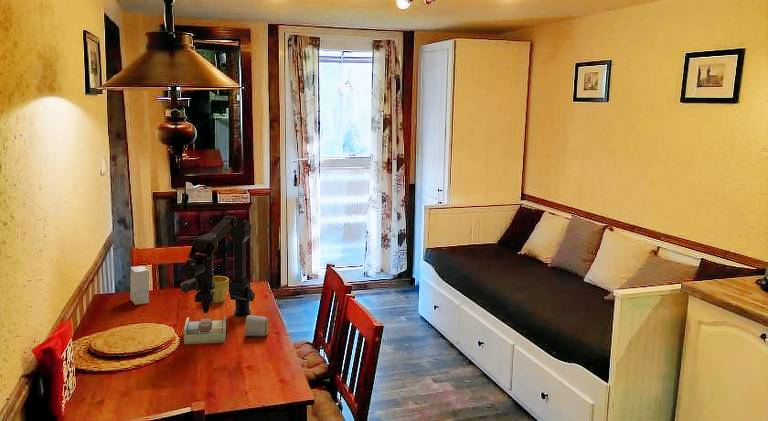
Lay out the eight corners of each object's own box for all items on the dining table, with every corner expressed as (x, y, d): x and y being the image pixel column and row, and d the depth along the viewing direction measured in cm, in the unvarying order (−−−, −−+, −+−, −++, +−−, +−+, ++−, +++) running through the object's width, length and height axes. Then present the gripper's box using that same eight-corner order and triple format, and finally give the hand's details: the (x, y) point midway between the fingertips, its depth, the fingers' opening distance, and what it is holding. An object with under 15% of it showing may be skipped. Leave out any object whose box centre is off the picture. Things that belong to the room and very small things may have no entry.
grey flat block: (189, 327, 224) (189, 321, 224) (199, 327, 225) (199, 321, 224) (187, 335, 216) (187, 329, 216) (198, 335, 217) (198, 328, 217)
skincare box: (130, 300, 259) (129, 266, 257) (144, 297, 263) (143, 265, 260) (135, 305, 253) (134, 271, 250) (150, 303, 256) (149, 269, 254)
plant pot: (218, 305, 256) (217, 283, 255) (199, 301, 261) (199, 280, 259) (233, 299, 266) (233, 278, 264) (215, 295, 270) (215, 274, 268)
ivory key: (212, 326, 226) (212, 320, 226) (222, 326, 227) (222, 320, 226) (211, 334, 218) (211, 328, 218) (222, 333, 219) (221, 327, 219)
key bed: (187, 331, 227) (186, 317, 226) (225, 329, 230) (225, 315, 229) (184, 344, 214) (183, 329, 213) (224, 342, 217) (224, 327, 216)
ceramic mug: (266, 339, 222) (267, 319, 221) (244, 338, 221) (244, 319, 220) (270, 329, 232) (270, 310, 231) (249, 329, 232) (249, 309, 230)
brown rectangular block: (201, 324, 225) (201, 318, 224) (211, 324, 226) (211, 318, 225) (199, 332, 217) (199, 326, 217) (210, 332, 218) (210, 326, 218)
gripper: (184, 266, 225) (185, 305, 228) (179, 280, 207) (180, 323, 210) (214, 265, 227) (215, 304, 230) (212, 279, 210) (213, 321, 212)
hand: (205, 313), depth 220 cm, fingers closed
